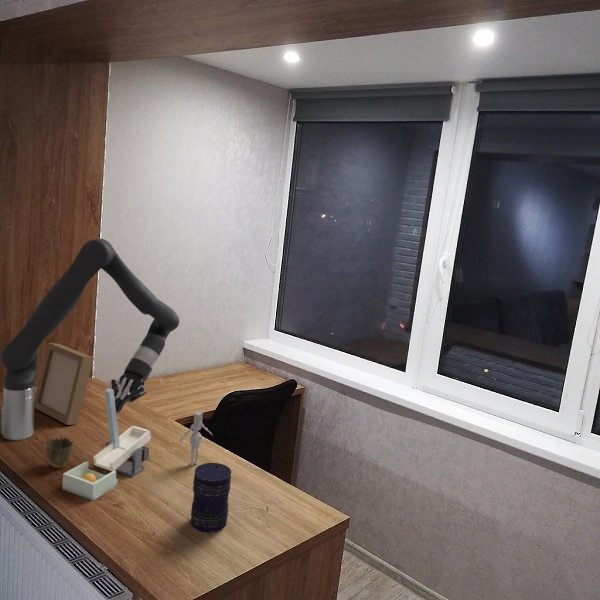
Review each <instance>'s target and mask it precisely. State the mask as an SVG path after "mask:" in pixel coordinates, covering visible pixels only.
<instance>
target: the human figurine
mask: <svg viewBox="0 0 600 600" xmlns="http://www.w3.org/2000/svg"><path fill="white" fill-rule="evenodd" d="M202 428H203V429H204V430H205V431H206V432H208V433H210V435H211V436H213V433H212V432H211V431H210V430H209V429H208V427H205V425H204V423H203V412H198V411H196V412H194V413H193V423H192V424H191V425H190V427H189V430H188V431H186V432H185V434H184V435H183V436H182V437H180V440H178V441H179V443H182V442H183V440H184V438H186V437H187V436H188V435H189V433H190V432H191V431H192V433H191V435H190V438H189V443H190V447H191V451H190V452H191V454H190V455H191V456H190V458H191V459H190V462H188V465H189V466H191V467H192V466H193V467H194V465H195V466H197V465H198V458H199V448H200V446H201V442H202V439H203V437H202V434H201V433H200V432H199V431H201V429H202ZM194 458H195V459H194Z"/></svg>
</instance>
